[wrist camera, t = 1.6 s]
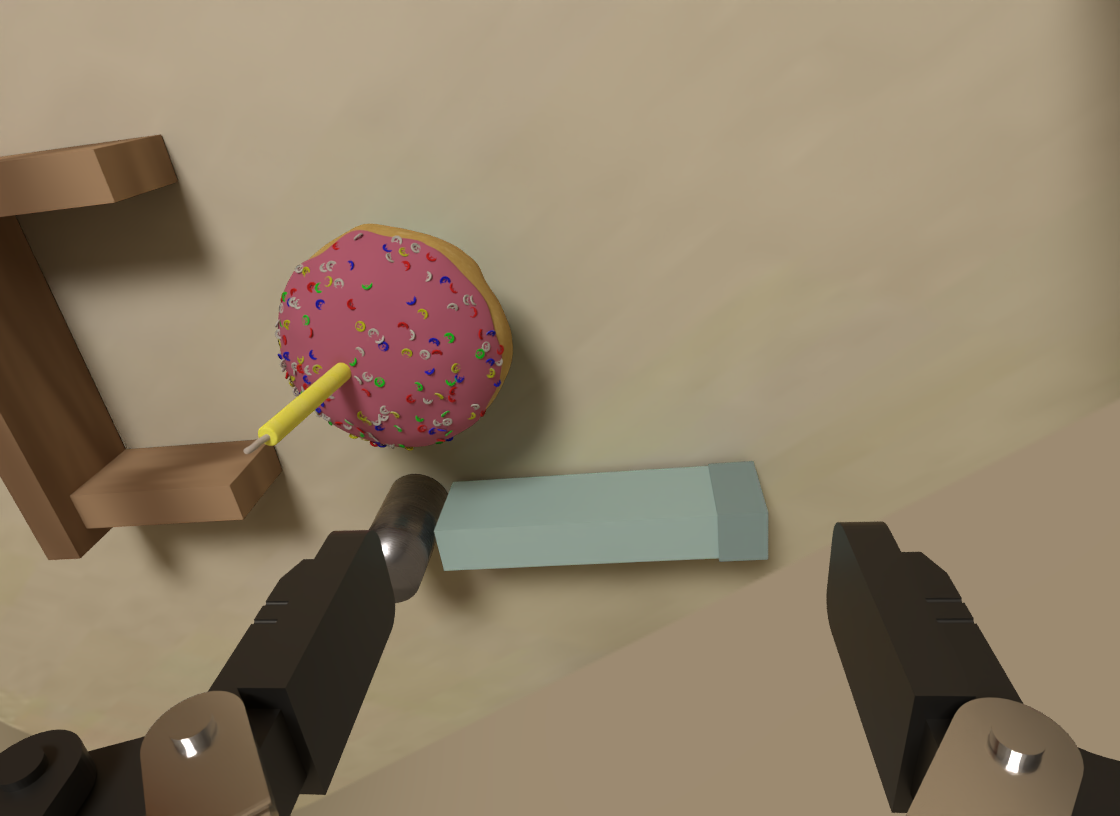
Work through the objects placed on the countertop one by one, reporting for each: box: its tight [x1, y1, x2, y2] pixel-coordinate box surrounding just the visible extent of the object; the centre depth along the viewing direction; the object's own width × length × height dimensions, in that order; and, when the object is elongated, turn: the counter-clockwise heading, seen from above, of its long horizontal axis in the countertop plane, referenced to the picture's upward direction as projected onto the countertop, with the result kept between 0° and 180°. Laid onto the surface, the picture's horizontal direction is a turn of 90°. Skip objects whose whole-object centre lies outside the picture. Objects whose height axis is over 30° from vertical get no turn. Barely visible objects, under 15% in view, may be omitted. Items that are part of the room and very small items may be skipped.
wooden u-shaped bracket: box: [0, 135, 282, 560], centre depth 30 cm, size 9×17×5 cm, turn 7°
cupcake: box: [243, 224, 513, 454], centre depth 25 cm, size 9×8×12 cm
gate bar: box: [434, 461, 768, 571], centre depth 32 cm, size 14×2×4 cm, turn 97°
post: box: [369, 474, 448, 603], centre depth 33 cm, size 3×3×6 cm
